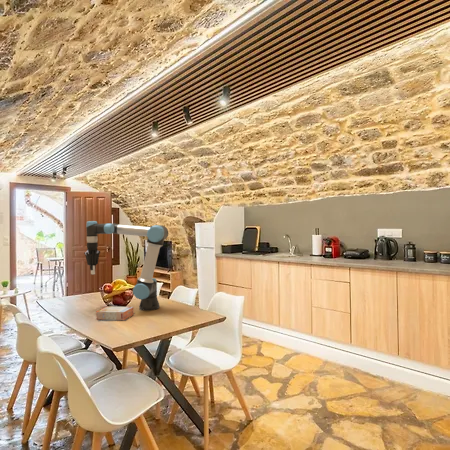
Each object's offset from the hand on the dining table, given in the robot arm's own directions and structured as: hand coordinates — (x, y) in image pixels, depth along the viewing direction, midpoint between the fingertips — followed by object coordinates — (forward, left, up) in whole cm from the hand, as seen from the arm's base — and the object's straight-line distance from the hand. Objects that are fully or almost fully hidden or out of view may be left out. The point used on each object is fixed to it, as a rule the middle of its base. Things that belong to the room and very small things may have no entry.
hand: (92, 274), depth 249 cm
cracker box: (-10, +11, -26) cm, 30 cm away
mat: (-22, +11, -28) cm, 37 cm away
